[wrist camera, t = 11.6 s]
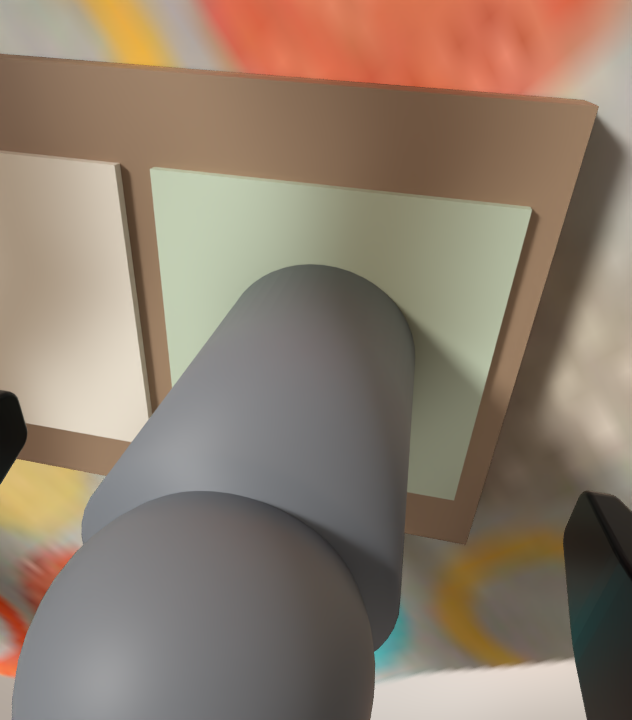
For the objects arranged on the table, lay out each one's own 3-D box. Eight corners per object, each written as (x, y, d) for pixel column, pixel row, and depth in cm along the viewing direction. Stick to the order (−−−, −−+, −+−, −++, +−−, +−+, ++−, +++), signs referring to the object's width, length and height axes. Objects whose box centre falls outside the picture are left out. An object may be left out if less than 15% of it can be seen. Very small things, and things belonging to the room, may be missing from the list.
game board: (-258, 381, 17) (-301, 403, 16) (-480, 15, 12) (-564, 13, 11) (463, 514, 14) (466, 551, 13) (584, 99, 9) (602, 107, 8)
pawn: (228, 416, 12) (-33, 897, 6) (222, 252, 10) (-213, 698, 3) (400, 444, 12) (352, 1015, 5) (430, 278, 10) (420, 867, 3)
